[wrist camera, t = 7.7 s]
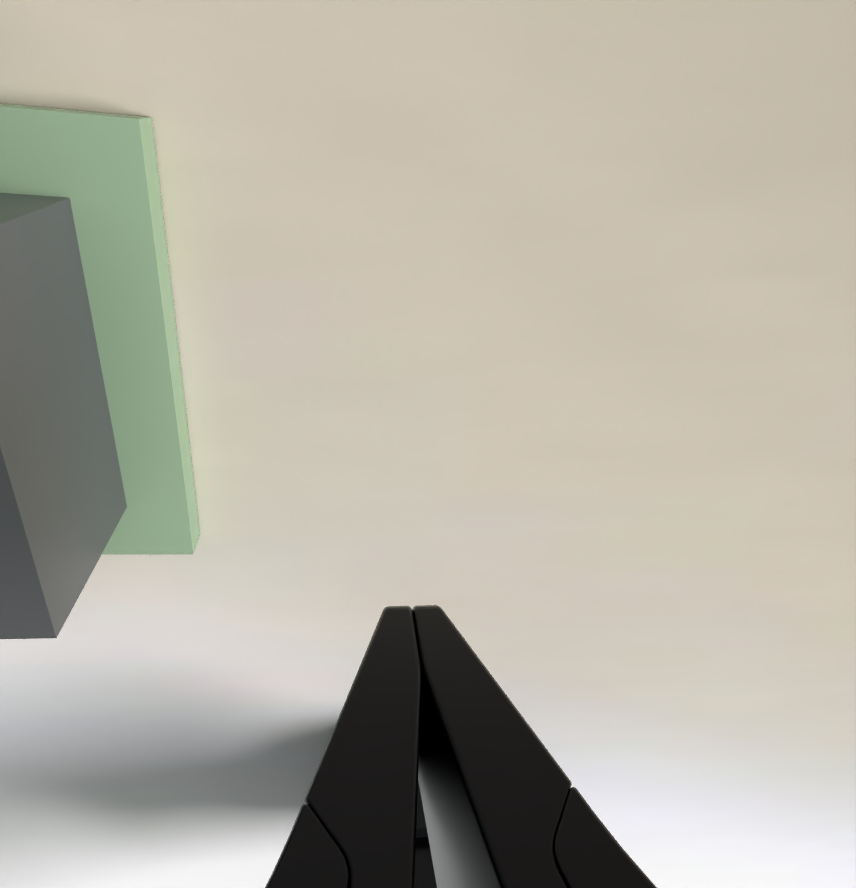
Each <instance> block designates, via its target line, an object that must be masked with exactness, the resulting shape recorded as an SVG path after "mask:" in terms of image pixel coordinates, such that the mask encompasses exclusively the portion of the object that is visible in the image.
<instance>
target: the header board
mask: <svg viewBox="0 0 856 888" xmlns="http://www.w3.org/2000/svg"><path fill="white" fill-rule="evenodd" d="M0 193H11V194H25V195H39V196H52V197H66V198H70V202H71V208H72V213H73V218H74V224H75V229H76V234H77V240H78V245H79V251H80V256H81V261H82V267H83V272H84V278H85V283H86V288H87V294H88V299H89V304H90V310H91V315H92V321H93V326H94V331H95V337H96V342H97V347H98V353H99V358H100V364H101V369H102V374H103V380H104V385H105V390H106V396H107V401H108V407H109V412H110V417H111V423H112V428H113V434H114V439H115V444H116V450H117V455H118V460H119V466H120V471H121V477H122V482H123V487H124V493H125V498H126V503H127V508H126V510H125V512H124V513H123V515H122V517H121V519H120V521H119V523H118V525H117V526H116V528H115V530H114V532H113V534H112V536H111V538H110V539H109V541H108V543H107V545H106V547H105V549H104V551H103V552H102V554H194V551H195V548H196V545H197V542H198V539H199V536H200V528H199V519H198V511H197V502H196V493H195V485H194V476H193V468H192V459H191V450H190V442H189V433H188V424H187V416H186V407H185V399H184V390H183V381H182V373H181V364H180V355H179V347H178V338H177V330H176V321H175V312H174V304H173V295H172V286H171V278H170V269H169V261H168V252H167V243H166V235H165V226H164V217H163V209H162V200H161V192H160V183H159V174H158V166H157V157H156V148H155V140H154V131H153V123H152V117H144V116H133V115H122V114H111V113H101V112H90V111H79V110H68V109H57V108H46V107H35V106H24V105H14V104H3V103H0Z"/></svg>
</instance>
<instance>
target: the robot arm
mask: <svg viewBox="0 0 856 888" xmlns="http://www.w3.org/2000/svg"><path fill="white" fill-rule="evenodd" d="M571 785H572V784H571V781H570V780H569V778H568V777H567V776H566V774H565V773H564V772H563V770H562V769H561V768H560V766H559V765H558V764H557V762H556V761H555V760H554V758H553V757H552V756H551V754H550V753H549V752H548V750H547V749H546V748H545V746H544V745H543V744H542V742H541V741H540V740H539V738H538V737H537V736H536V734H535V733H534V732H533V730H532V729H531V728H530V726H529V725H528V724H527V722H526V721H525V720H524V718H523V717H522V716H521V714H520V713H519V712H518V710H517V709H516V708H515V706H514V705H513V704H512V702H511V701H510V699H509V698H508V697H507V695H506V694H505V693H504V691H503V690H502V689H501V687H500V686H499V685H498V683H497V682H496V681H495V679H494V678H493V677H492V675H491V674H490V673H489V671H488V670H487V669H486V667H485V666H484V665H483V663H482V662H481V661H480V659H479V658H478V657H477V655H476V654H475V653H474V651H473V650H472V649H471V647H470V646H469V645H468V643H467V642H466V641H465V639H464V638H463V637H462V635H461V634H460V633H459V631H458V630H457V629H456V627H455V626H454V624H453V623H452V622H451V620H450V619H449V618H448V616H447V615H446V614H445V612H444V611H443V610H442V609H441V608H440V607H439V606H437V605H428V606H415V607H414V608H413V609H411V607H409V606H388V607H386V608H385V609H384V610H383V612H382V614H381V617H380V619H379V622H378V624H377V626H376V629H375V631H374V634H373V636H372V638H371V641H370V643H369V646H368V648H367V651H366V653H365V655H364V658H363V660H362V663H361V665H360V667H359V670H358V672H357V675H356V677H355V680H354V682H353V684H352V687H351V689H350V692H349V694H348V696H347V699H346V701H345V704H344V706H343V709H342V711H341V713H340V716H339V718H338V721H337V723H336V725H335V728H334V730H333V733H332V735H331V738H330V740H329V742H328V745H327V747H326V750H325V752H324V754H323V757H322V759H321V762H320V764H319V767H318V769H317V771H316V774H315V776H314V779H313V781H312V783H311V786H310V788H309V791H308V793H307V796H306V798H305V804H304V805H302V807H301V809H300V812H299V814H298V816H297V819H296V821H295V824H294V826H293V828H292V831H291V833H290V835H289V838H288V840H287V842H286V844H285V846H284V849H283V851H282V853H281V855H280V858H279V860H278V862H277V864H276V866H275V869H274V871H273V873H272V875H271V877H270V879H269V881H268V883H267V885H266V887H265V888H657V887H656V886H655V885H654V884H653V883H652V882H651V881H650V879H649V878H648V877H647V876H646V875H645V874H644V873H643V871H642V870H641V869H640V868H639V867H638V866H637V865H636V863H635V862H634V861H633V860H632V859H631V858H630V857H629V855H628V854H627V853H626V852H625V851H624V850H623V849H622V847H621V846H620V845H619V843H618V842H617V841H616V840H615V838H614V837H613V836H612V835H611V833H610V832H609V831H608V830H607V828H606V827H605V826H604V825H603V823H602V822H601V821H600V819H599V818H598V817H597V816H596V814H595V813H594V812H593V810H592V809H591V808H590V806H589V805H588V804H587V802H586V801H585V800H584V798H583V797H582V796H581V794H580V793H579V792H578V790H577V789H576V788H575V787H572V788H571ZM570 788H571V789H570Z"/></svg>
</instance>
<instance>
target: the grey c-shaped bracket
mask: <svg viewBox="0 0 856 888" xmlns="http://www.w3.org/2000/svg"><path fill="white" fill-rule="evenodd" d="M126 508H127V503H126V498H125V493H124V487H123V482H122V477H121V471H120V466H119V460H118V455H117V450H116V444H115V439H114V434H113V428H112V423H111V417H110V412H109V407H108V401H107V396H106V390H105V385H104V380H103V374H102V369H101V364H100V358H99V353H98V347H97V342H96V337H95V331H94V326H93V321H92V315H91V310H90V304H89V299H88V294H87V288H86V283H85V278H84V272H83V267H82V261H81V256H80V251H79V245H78V240H77V234H76V229H75V224H74V218H73V213H72V208H71V202H70V198H66V197H52V196H39V195H25V194H11V193H0V639H31V638H57V636H58V634H59V632H60V630H61V628H62V627H63V625H64V623H65V621H66V619H67V617H68V615H69V614H70V612H71V610H72V608H73V606H74V604H75V602H76V601H77V599H78V597H79V595H80V593H81V591H82V589H83V588H84V586H85V584H86V582H87V580H88V578H89V576H90V575H91V573H92V571H93V569H94V567H95V565H96V564H97V562H98V560H99V558H100V556H101V554H102V552H103V551H104V549H105V547H106V545H107V543H108V541H109V539H110V538H111V536H112V534H113V532H114V530H115V528H116V526H117V525H118V523H119V521H120V519H121V517H122V515H123V513H124V512H125V510H126Z"/></svg>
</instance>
